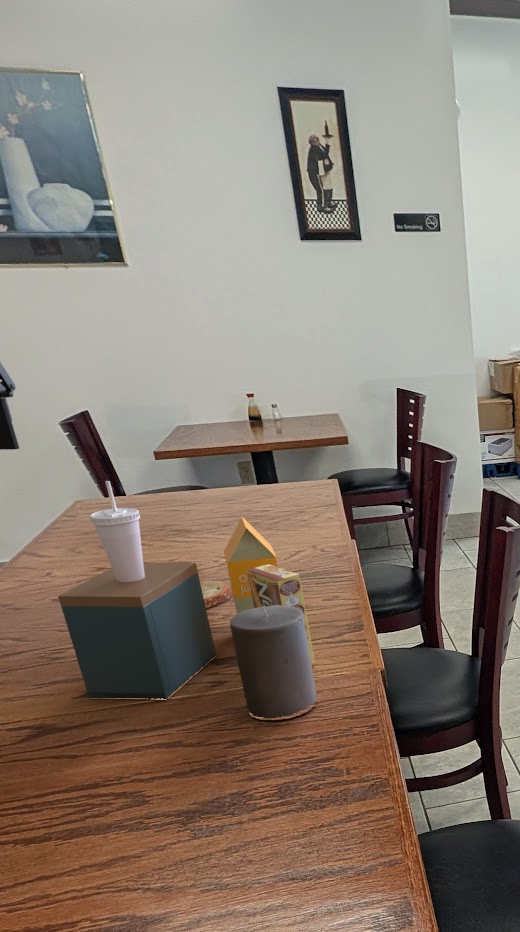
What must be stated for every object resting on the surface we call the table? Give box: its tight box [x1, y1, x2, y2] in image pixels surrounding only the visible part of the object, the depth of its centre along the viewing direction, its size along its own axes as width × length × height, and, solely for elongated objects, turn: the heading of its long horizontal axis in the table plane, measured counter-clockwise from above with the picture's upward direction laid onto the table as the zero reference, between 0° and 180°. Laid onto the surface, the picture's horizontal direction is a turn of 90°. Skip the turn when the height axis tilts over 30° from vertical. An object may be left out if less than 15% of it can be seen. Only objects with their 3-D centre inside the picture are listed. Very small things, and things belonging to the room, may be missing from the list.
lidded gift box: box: [57, 562, 217, 699], centre depth 124 cm, size 12×16×16 cm
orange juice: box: [223, 515, 279, 615], centre depth 138 cm, size 8×9×20 cm
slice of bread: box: [200, 580, 233, 610], centre depth 156 cm, size 18×18×4 cm
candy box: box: [247, 564, 316, 664], centre depth 128 cm, size 9×4×15 cm, turn 50°
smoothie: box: [89, 480, 145, 582], centre depth 117 cm, size 6×6×14 cm
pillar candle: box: [229, 605, 317, 718], centre depth 114 cm, size 10×10×15 cm
